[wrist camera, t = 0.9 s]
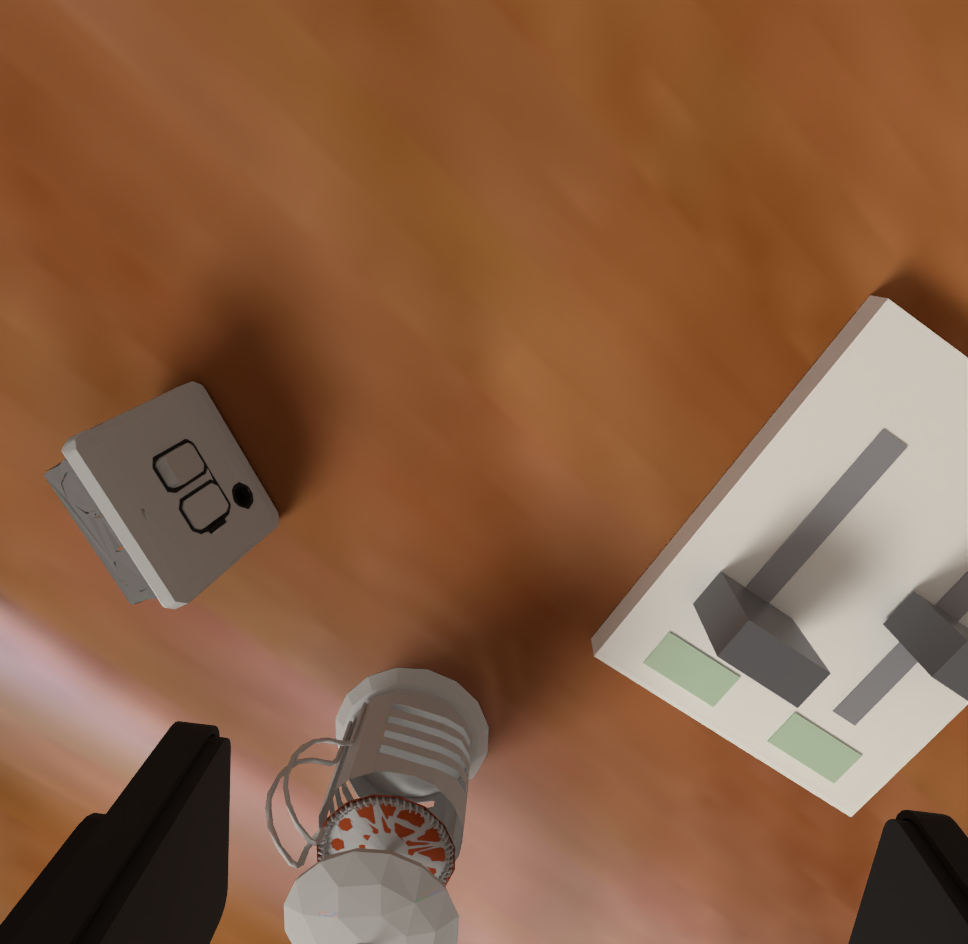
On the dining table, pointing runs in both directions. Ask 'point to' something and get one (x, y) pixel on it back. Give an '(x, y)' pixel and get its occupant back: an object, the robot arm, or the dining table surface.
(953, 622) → the handle
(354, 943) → the french press
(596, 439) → the dining table surface
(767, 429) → the white slider control panel
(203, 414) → the electrical switch
